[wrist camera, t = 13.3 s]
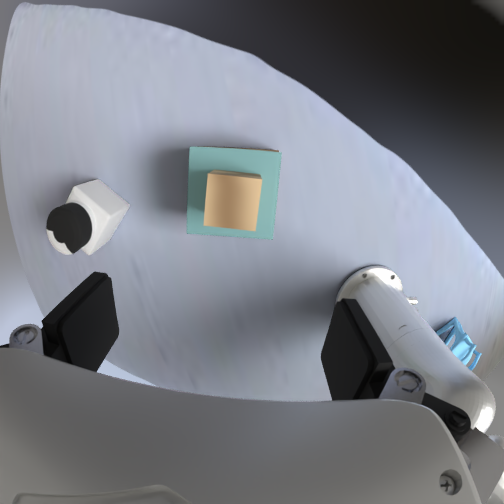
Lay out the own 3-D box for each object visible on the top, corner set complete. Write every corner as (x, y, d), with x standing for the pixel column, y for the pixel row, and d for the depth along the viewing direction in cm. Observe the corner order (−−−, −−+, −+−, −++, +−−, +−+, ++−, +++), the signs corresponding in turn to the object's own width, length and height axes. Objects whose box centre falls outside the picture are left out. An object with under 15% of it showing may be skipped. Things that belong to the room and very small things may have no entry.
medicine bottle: (98, 177, 36) (51, 192, 25) (131, 204, 38) (91, 227, 27) (79, 214, 38) (34, 238, 27) (110, 240, 40) (71, 272, 29)
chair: (462, 326, 48) (489, 356, 37) (438, 351, 51) (462, 384, 39) (451, 311, 46) (482, 343, 35) (426, 339, 49) (452, 375, 37)
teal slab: (277, 152, 32) (281, 152, 29) (270, 229, 36) (272, 239, 32) (196, 146, 32) (189, 146, 28) (193, 224, 35) (186, 233, 32)
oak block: (260, 174, 29) (262, 179, 25) (254, 218, 31) (255, 231, 27) (214, 169, 29) (207, 173, 24) (210, 213, 31) (203, 225, 26)
